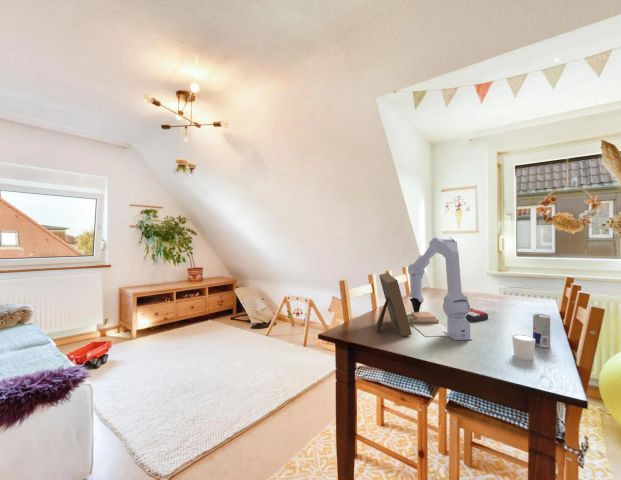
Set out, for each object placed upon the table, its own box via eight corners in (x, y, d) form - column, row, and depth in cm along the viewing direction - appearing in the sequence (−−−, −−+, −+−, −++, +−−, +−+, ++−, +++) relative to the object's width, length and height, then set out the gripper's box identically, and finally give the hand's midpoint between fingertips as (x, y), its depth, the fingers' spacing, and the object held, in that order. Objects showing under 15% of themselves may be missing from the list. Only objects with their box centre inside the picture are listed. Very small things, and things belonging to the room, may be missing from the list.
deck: (438, 323, 143) (438, 319, 143) (412, 324, 143) (412, 320, 143) (425, 315, 158) (425, 311, 158) (402, 315, 158) (402, 312, 158)
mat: (457, 336, 126) (457, 335, 126) (425, 336, 126) (425, 336, 126) (440, 324, 142) (440, 323, 142) (411, 324, 142) (411, 324, 142)
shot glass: (525, 352, 109) (525, 333, 109) (540, 360, 102) (540, 340, 102) (507, 352, 108) (507, 334, 108) (521, 361, 102) (521, 341, 101)
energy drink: (533, 342, 118) (533, 312, 118) (550, 345, 115) (550, 315, 114) (532, 346, 114) (532, 316, 114) (550, 349, 111) (550, 318, 110)
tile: (435, 320, 142) (435, 316, 142) (417, 321, 142) (417, 317, 142) (428, 315, 150) (428, 312, 150) (411, 316, 150) (411, 312, 150)
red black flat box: (474, 315, 144) (448, 307, 158) (473, 324, 145) (448, 315, 158) (488, 312, 149) (462, 304, 162) (488, 320, 149) (462, 312, 163)
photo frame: (399, 321, 148) (398, 272, 147) (411, 336, 126) (410, 279, 126) (370, 321, 149) (369, 273, 148) (377, 337, 127) (376, 280, 127)
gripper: (404, 284, 161) (404, 308, 162) (413, 289, 147) (413, 316, 147) (416, 284, 161) (416, 308, 162) (427, 289, 147) (427, 316, 147)
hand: (416, 312), depth 155 cm, fingers closed
